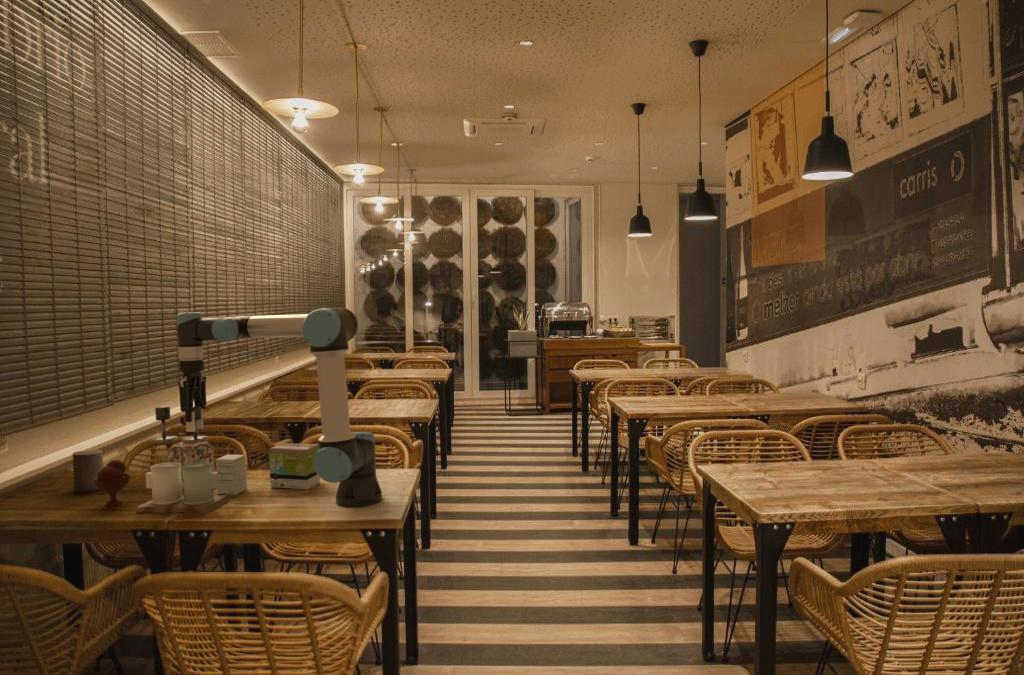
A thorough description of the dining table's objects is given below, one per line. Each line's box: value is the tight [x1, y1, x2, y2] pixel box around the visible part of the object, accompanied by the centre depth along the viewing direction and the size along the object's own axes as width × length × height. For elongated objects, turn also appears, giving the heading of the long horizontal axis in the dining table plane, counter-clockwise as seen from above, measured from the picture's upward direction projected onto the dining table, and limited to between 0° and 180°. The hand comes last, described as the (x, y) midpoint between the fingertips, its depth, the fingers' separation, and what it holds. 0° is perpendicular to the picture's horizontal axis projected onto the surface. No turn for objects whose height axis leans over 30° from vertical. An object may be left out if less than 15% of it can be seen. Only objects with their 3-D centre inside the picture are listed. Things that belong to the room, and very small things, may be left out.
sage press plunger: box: [181, 405, 210, 443], centre depth 240 cm, size 8×8×11 cm
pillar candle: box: [72, 449, 104, 493], centre depth 269 cm, size 10×10×15 cm
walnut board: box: [136, 494, 229, 514], centre depth 243 cm, size 24×14×2 cm, turn 84°
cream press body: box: [145, 461, 184, 505], centre depth 243 cm, size 12×10×12 cm
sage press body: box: [181, 462, 219, 505], centre depth 241 cm, size 12×10×12 cm
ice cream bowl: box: [93, 459, 131, 508], centre depth 247 cm, size 11×11×15 cm
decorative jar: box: [167, 435, 216, 490], centre depth 270 cm, size 12×12×18 cm
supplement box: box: [215, 454, 248, 496], centre depth 259 cm, size 7×7×13 cm
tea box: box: [268, 442, 321, 491], centre depth 266 cm, size 15×10×15 cm, turn 76°
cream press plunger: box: [150, 405, 179, 444], centre depth 242 cm, size 8×8×11 cm
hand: (195, 429), depth 240 cm, fingers closed on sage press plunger, 4 cm apart
